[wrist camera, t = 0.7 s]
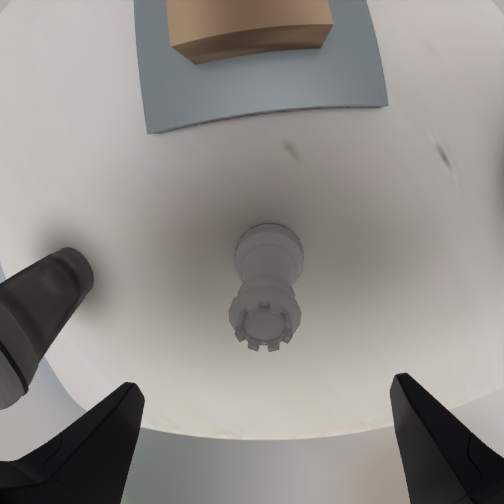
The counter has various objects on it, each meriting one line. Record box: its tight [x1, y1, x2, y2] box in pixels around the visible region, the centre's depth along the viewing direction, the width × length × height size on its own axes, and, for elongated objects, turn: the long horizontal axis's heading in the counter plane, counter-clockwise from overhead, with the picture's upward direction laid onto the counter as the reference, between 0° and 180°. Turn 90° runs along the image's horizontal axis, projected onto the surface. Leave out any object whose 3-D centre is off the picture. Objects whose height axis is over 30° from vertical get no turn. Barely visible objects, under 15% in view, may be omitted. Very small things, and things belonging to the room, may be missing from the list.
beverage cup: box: [0, 248, 94, 410], centre depth 12 cm, size 7×7×20 cm
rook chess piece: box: [229, 224, 303, 352], centre depth 15 cm, size 4×4×8 cm
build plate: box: [134, 0, 388, 134], centre depth 12 cm, size 14×14×2 cm
